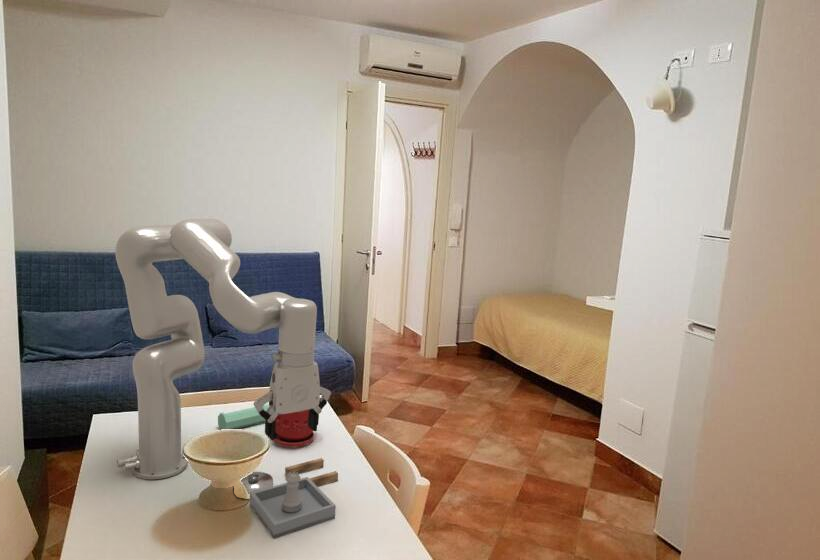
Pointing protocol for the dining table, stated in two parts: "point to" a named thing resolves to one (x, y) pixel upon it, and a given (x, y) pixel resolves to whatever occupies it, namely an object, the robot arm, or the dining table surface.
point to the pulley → (257, 481)
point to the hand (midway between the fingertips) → (291, 433)
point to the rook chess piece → (292, 494)
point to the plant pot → (293, 429)
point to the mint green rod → (240, 418)
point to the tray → (283, 523)
